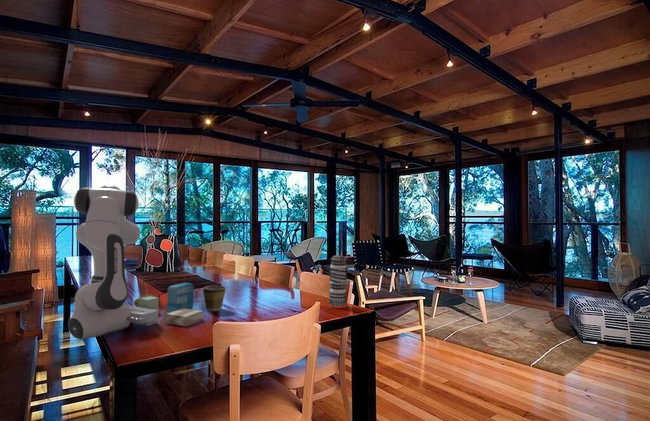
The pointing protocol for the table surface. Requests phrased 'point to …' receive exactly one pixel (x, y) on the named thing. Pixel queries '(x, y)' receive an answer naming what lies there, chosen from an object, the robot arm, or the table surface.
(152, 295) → the lemon
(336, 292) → the decorative candle
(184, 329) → the table surface
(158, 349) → the table surface
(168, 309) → the blue rounded box
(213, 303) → the ceramic cup
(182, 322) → the birch block
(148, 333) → the table surface
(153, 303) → the sage block
